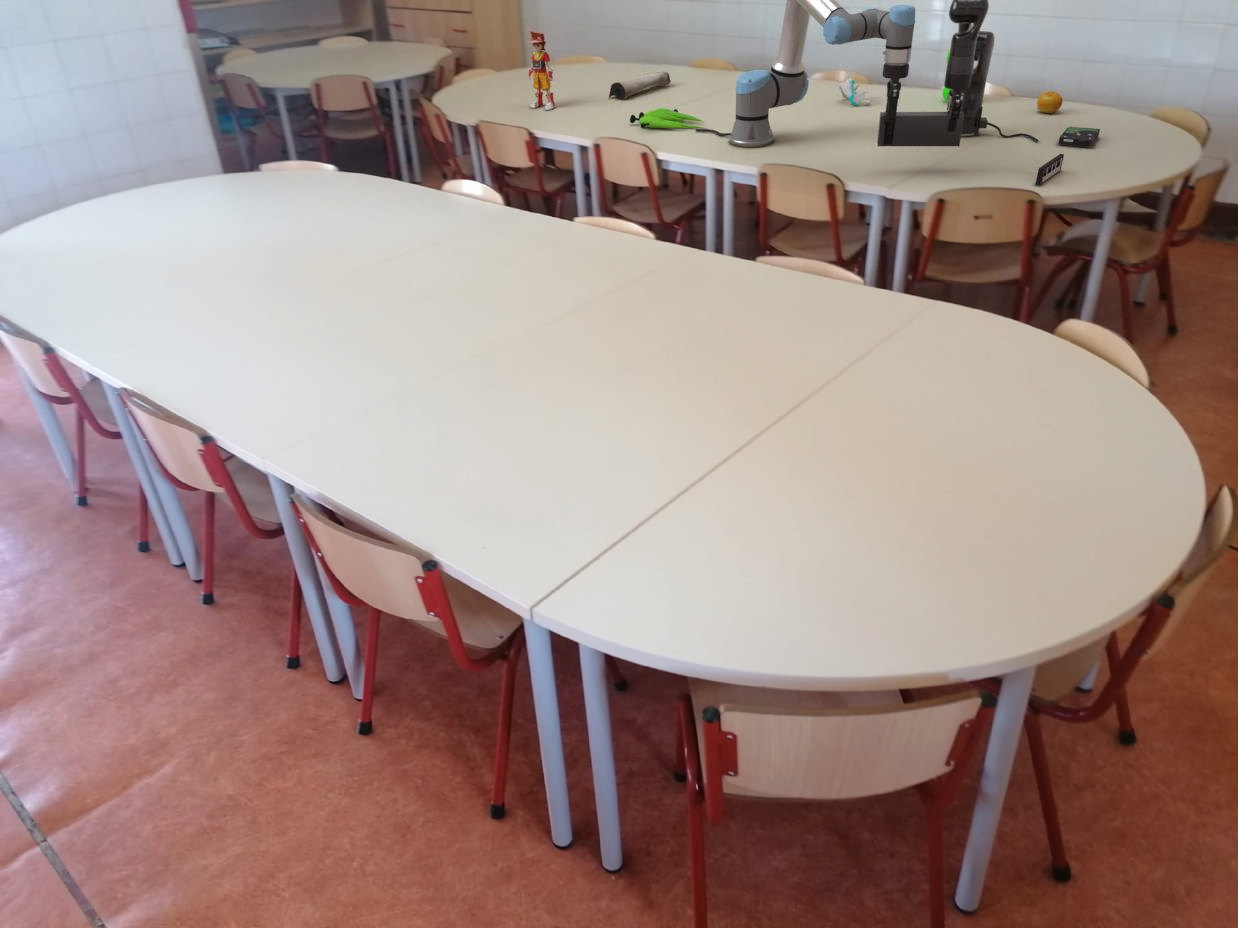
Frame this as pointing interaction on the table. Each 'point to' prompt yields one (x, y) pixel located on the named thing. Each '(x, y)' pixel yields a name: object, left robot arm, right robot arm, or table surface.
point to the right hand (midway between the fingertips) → (950, 129)
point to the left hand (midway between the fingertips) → (887, 142)
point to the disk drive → (1079, 136)
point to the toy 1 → (541, 71)
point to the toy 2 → (664, 119)
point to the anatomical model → (853, 93)
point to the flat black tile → (1049, 169)
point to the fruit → (1049, 102)
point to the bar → (922, 129)
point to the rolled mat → (638, 84)
